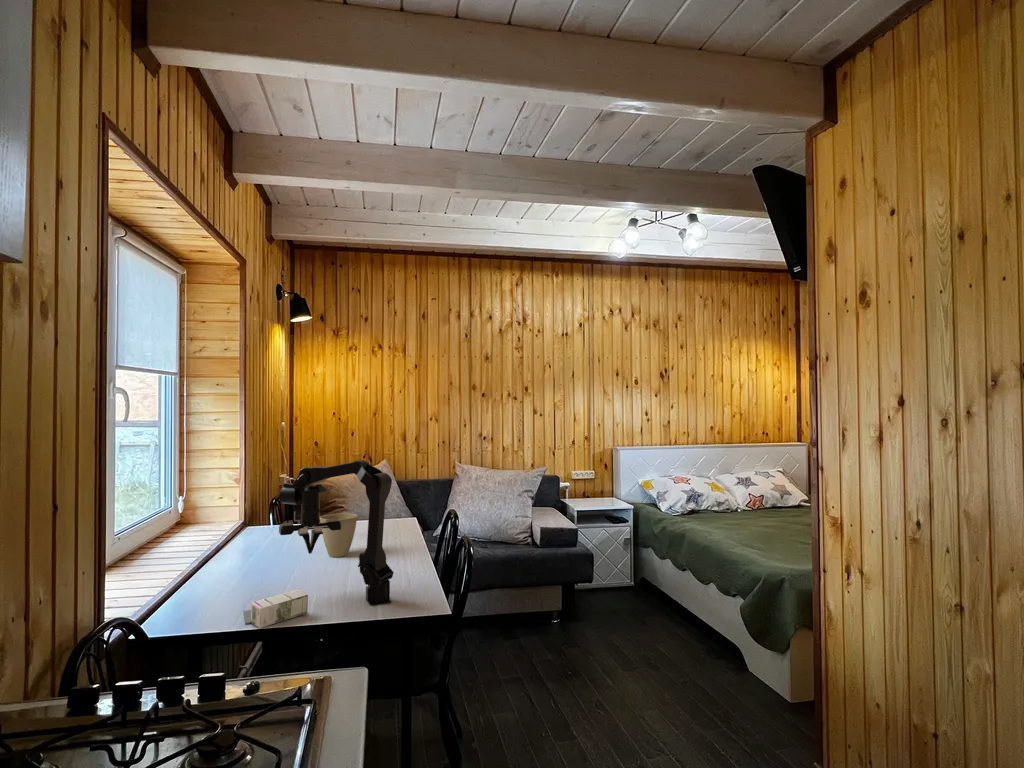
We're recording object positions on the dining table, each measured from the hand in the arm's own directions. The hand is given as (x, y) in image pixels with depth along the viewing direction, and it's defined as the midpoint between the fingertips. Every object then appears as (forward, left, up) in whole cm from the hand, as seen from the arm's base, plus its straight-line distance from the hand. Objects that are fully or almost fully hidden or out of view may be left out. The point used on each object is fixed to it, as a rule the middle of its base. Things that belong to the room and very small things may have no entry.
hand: (310, 553), depth 190 cm
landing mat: (+13, +14, -13) cm, 23 cm away
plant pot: (-18, -47, -13) cm, 52 cm away
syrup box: (+4, +17, -10) cm, 20 cm away
